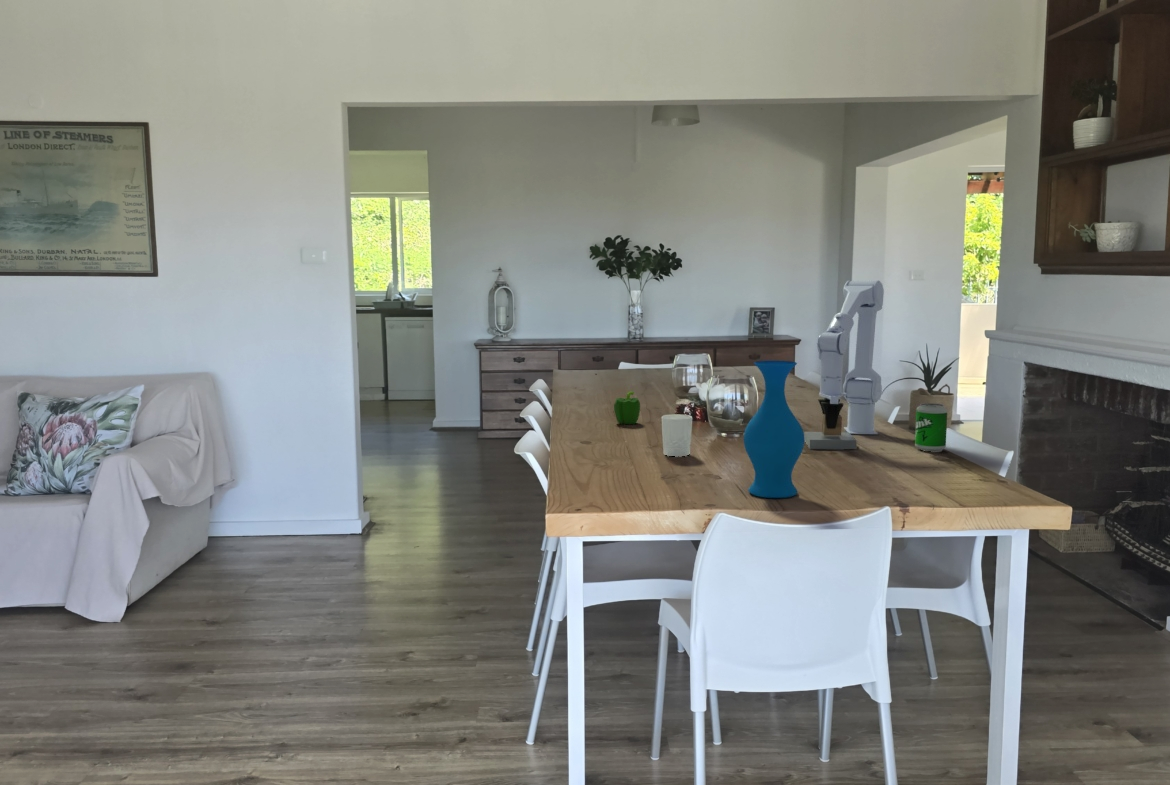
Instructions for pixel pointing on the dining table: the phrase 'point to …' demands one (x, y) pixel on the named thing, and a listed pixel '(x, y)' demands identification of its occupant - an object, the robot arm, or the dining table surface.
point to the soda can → (931, 427)
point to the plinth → (829, 441)
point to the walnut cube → (831, 431)
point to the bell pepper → (627, 409)
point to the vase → (774, 436)
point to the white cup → (676, 434)
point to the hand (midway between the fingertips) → (829, 426)
